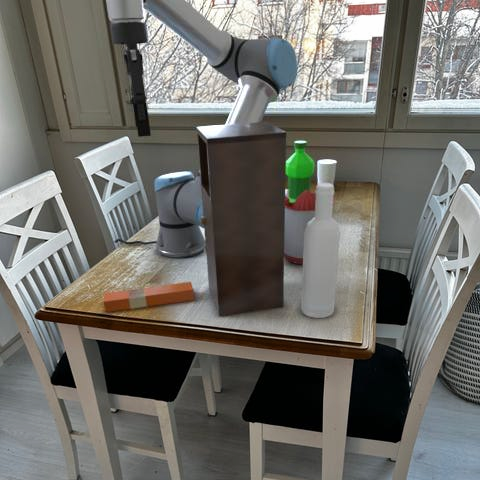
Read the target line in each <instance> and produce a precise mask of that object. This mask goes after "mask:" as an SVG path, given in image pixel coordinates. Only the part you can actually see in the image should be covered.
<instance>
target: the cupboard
mask: <svg viewBox="0 0 480 480" xmlns="http://www.w3.org/2000/svg"><path fill="white" fill-rule="evenodd" d="M196 138H197V139H196V140H197V152H198V153H197V154H198V166H199V171H200V179H201V192H202V204H203V217H201V218H200V219H201V224H202V225H204V228H203V229H204V239H205V245H206V247H205V253H206V254H205V255H206V267H207V279H208V290H209V293H210V296H211V298H212V302H213V304H214V306H215V307H214V308H215V309H216V313H217V315H218V317H224V316H231V315H238V314H244V313H252V312H259V311H265V310H272V309H278V308H284V285H285V282H284V281H285V256H284V235H285V189H286V177H287V174H286V161H287V132H286V131H285V130H283V129H281V128H279V127H277V126H276V125H274V124H272V123H270V122H268V121H261V122H256V123H243V124H229V125H225V124H217V125H205V126H196Z"/></svg>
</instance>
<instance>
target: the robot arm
mask: <svg viewBox="0 0 480 480" xmlns="http://www.w3.org/2000/svg"><path fill="white" fill-rule="evenodd" d="M105 2H106V9H107V10H106V11H107V16H108V20H109V21H111V22H112V23H110V25H109V26H110V34H111V40H112V41H111V42H112V44H114V45H117V46H118V45H120V46H121V45H125V50H124V53H125V54H123V62H124V65H125V69H126V74H127V76H128V77H129V85H130V88H129V89H130V94H131V99H129V101H130V105H132V109H133V115H134V123H135V128H136V130H137V137H138V138H139V137H141V138H143V137H152V134H151V125H150V119H149V111H148V103H147V102H148V101H147V94H146V87H145V82H144V72H145V71H144V56H143V53H141V51H140V49H139V48H138V45H142V44H148V43H149V42H150V39H149V31H148V24H146V22H144V20H146V18H147V17H146V12H147V13H149V14H150V15H151V16H152V17H154V18H155V19H156V20H157V21H159V22H160V23H161V24H162V25H164V26H165V27H166V28H168V29H169V30H170V31H171V32H173V33H174V34H175V35H176V36H178V37H179V38H181V40H183V41H184V42H186V44H188V45H189V46H191V47H192V48H193V49H194V50H196V51H197V52H198V53H200V54H201V55H202V56H203V57H204V59H205V60H204V61H205V62H206V64H207V65H208V66H209V67H211V68H213V70H215V71H217V72H218V73H219V74H221V76H223V77H225V78H226V79H228V80H230V81H232V82H233V83H236V84H237V85H239V87H240V90H239V91H238V94H237V97H236V99H235V102H234V104H233V106H232V108H231V111H230V113H229V115H228V118H227V120H226V122H225V124H224V125H229V124H243V123H256V122H262V120H263V118H264V116H265V113H266V111H267V108H268V107H269V104H271V103H273V102H275V101H277V99H278V97H279V95H280V92H281V91H282V89H284V90H285V89H288V88H290V87H292V85H293V84H294V83H295V81H296V77H297V74H298V58H297V53H296V50H295V47H294V46H293V45H292V44H291V43H290V41H288V40H287V39H284V38H277V37H272V38H251V39H249V38H248V39H244V38H239V37H237V36H234V35H232V34H231V33H230V32H229V31H227V30H224V29H223V30H222V29H221V30H220V29H219V28H218V27H217V26H216V25H214V24H213V23H212V22H211V21H210V20H209V19H207V18H206V17H205V16H204V15H203V14H201V13H200V11H198V10H197V9H196V8H195V7H194V6H192V5H191V4H190V3H189V2H188V0H187V1H186V0H105ZM154 193H155V194H154V195H155V200H156V209H157V215H158V223H159V229H158V234H157V238H156V240H153V241H142V240H134V241H127V240H124V239H122V238H117V239H115V240H114V243H115V244H117V243H118V242H121V243H123V244H125V245H136V244H141V245H144V246H145V245H153V244H156V252H157V253H158V254H159V255H160V256H163V257H166V258H170V259H171V258H172V259H179V258H181V259H182V258H188V257H192V256H193V257H194V256H196V255H198V254H201V253H202V252H203V251H205V250H206V243H205V236H204V234H203V232H202V230H201V228H202V229H204V225H202V224H201V219H200V218H201V217H203V204H202V192H201V179H200V170H199V171H198V173H197V175H196V177H195V176H194V173H193V172H191V171H176V172H170V173H166V174H162V175H160V176H158V177H157V178H155V180H154Z"/></svg>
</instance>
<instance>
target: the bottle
mask: <svg viewBox="0 0 480 480" xmlns="http://www.w3.org/2000/svg"><path fill="white" fill-rule="evenodd" d="M314 193H315V194H316V203H315V217H314V218H313V219H312V220H311V221H310V222H308V225H307V227H306V230H305V233H304V253H303V264H302V276H301V277H302V278H301V279H302V280H301V282H302V284H301V298H300V299H301V300H300V305H301V306H300V308H301V309H300V310H301V312H302V313H303V314H304V315H305V316H307V317H310V318H314V319H323V318H328V317H330V316H331V315H333V314H334V312H335V304H336V289H337V278H338V277H337V276H338V266H339V255H340V241H341V230H340V226H339V223H338V222H337V221H336V220H335V219H334V217H333V218H332V207H333V199H334V195H335V185H332V184H330V183H320V184H318V183H317V184H316V187H315V191H314ZM333 208H334V207H333Z"/></svg>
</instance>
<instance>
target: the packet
mask: <svg viewBox="0 0 480 480" xmlns="http://www.w3.org/2000/svg"><path fill="white" fill-rule="evenodd" d="M194 300H195V291H194V287H193V284H192V281H187V282H179V283H171V284H164V285H156V286H149V287H141V288H133V289H126V290H119V291H111V292H104V293H103V306H104V310H105V313H109V312H111V313H112V312H116V311H125V310H132V309H133V310H134V309H140V308H147V307H153V306H159V305H161V306H162V305H167V304H173V303H174V304H175V303H183V302H190V301H194Z"/></svg>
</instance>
